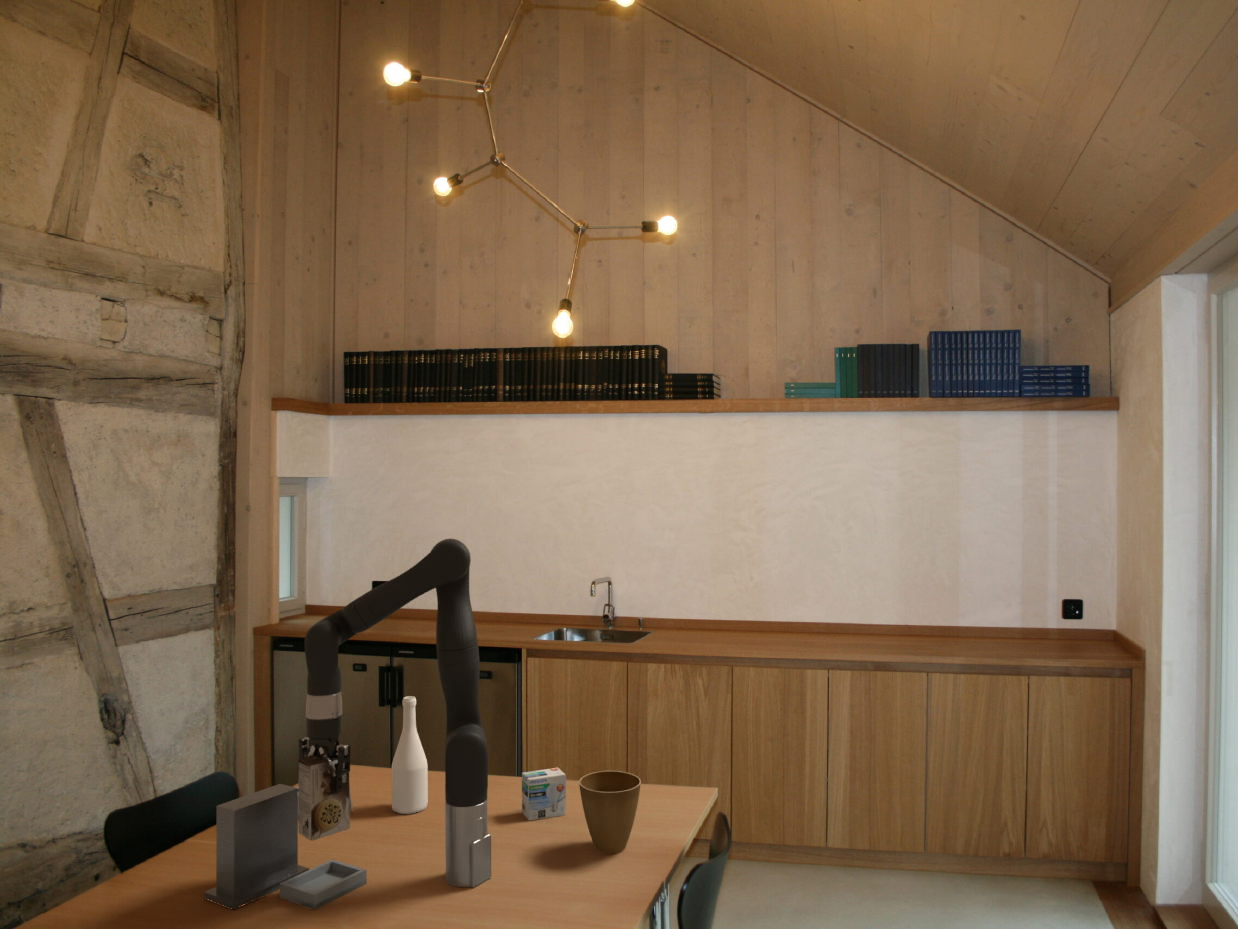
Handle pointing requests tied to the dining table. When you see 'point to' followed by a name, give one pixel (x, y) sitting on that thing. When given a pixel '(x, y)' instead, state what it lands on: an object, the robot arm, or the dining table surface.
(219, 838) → the upright panel on base
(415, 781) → the wine bottle
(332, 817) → the coffee box
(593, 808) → the plant pot
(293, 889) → the parts tray
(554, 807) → the light bulb box
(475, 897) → the dining table surface
